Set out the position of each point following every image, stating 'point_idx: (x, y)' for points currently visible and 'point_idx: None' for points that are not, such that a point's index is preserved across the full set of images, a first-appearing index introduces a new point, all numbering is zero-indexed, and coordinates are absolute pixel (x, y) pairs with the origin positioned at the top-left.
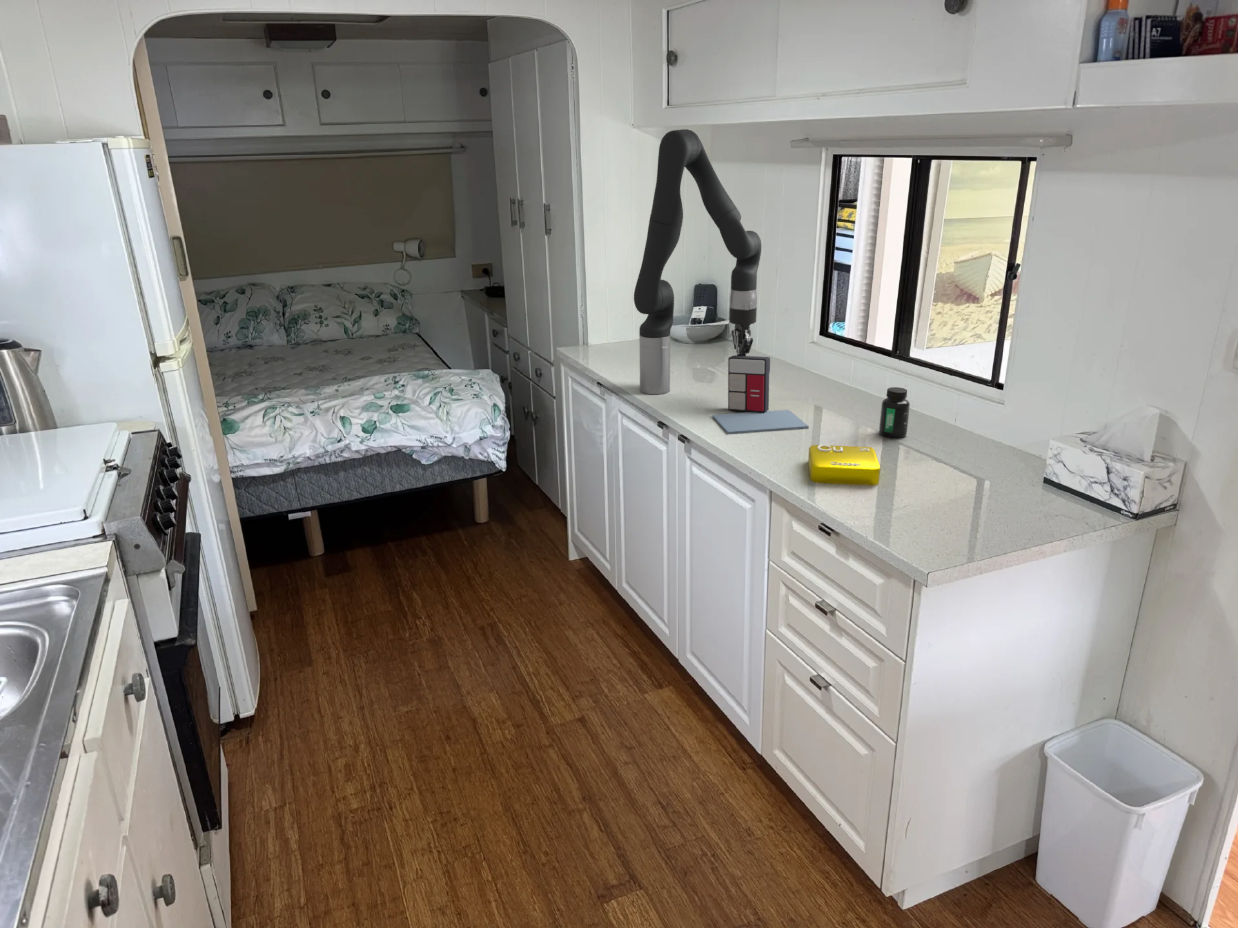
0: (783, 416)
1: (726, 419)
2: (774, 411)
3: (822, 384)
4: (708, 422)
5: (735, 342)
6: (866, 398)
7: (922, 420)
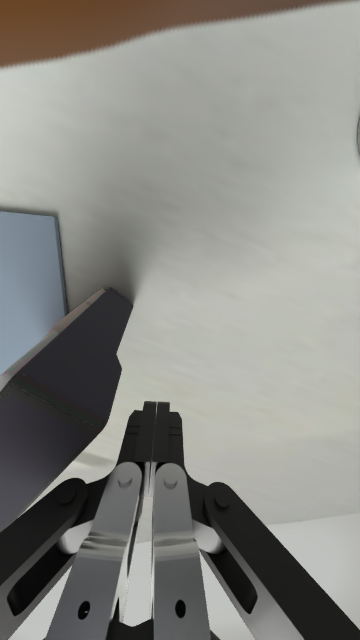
0: None
1: (2, 242)
2: None
3: None
4: (2, 182)
5: (161, 579)
6: None
7: None
